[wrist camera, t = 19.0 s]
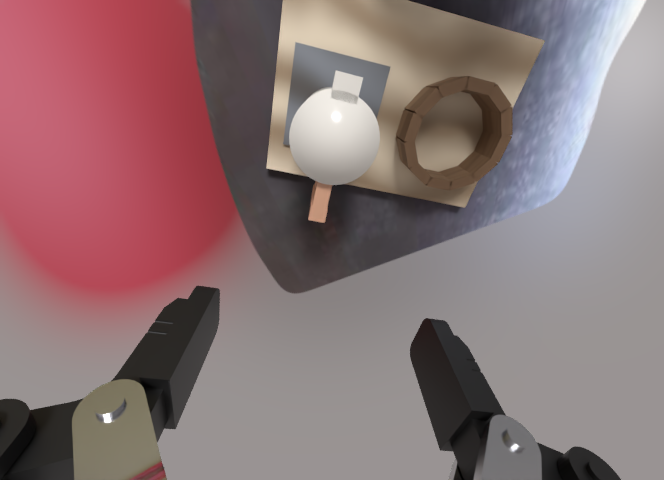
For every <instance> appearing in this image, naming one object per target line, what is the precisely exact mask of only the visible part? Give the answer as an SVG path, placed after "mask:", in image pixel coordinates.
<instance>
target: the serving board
mask: <svg viewBox="0 0 664 480" xmlns="http://www.w3.org/2000/svg"><path fill="white" fill-rule="evenodd" d="M544 42H545V41H544V40H541V39H537V38H534V37H531V36H527V35H524V34H520V33H517V32H514V31H510V30H507V29H503V28H500V27H497V26H493V25H490V24H486V23H483V22H480V21H476V20H473V19H469V18H466V17H463V16H459V15H456V14H453V13H449V12H446V11H442V10H439V9H436V8H432V7H429V6H425V5H422V4H419V3H415V2H412V1H408V0H283V5H282V16H281V26H280V36H279V46H278V56H277V67H276V77H275V87H274V97H273V108H272V118H271V128H270V138H269V149H268V159H267V169H272V170H277V171H282V172H287V173H292V174H297V175H302V176H307V175H306V174H305V173H304V172H303V171H302V170H301V169H300V168H299V167H298V165H297V164H296V162H295V160H294V158H293V156H292V153H291V150H290V144H289V133H290V127H291V123H292V120H293V118H294V116H295V114H296V112H297V111H298V109H299V108H300V107H301V105H302V104H303V103H304V102H305V101H306V100H307V99H308V98H309V97H310V96H311V95H312V94H313V93H314V92H316V91H317V90H319V89H321V88H325V87H332V85H333V80H334V75H335V71H336V70H337V71H340V72H344V73H348V74H352V75H355V76H359V77H363V81H362V85H361V89H360V93H359V98H360V99H362V100H363V101H364V102H365V103H366V104H367V105H368V106H369V107H370V108H371V110H372V111H373V113H374V115H375V117H376V119H377V122H378V126H379V131H380V143H379V149H378V152H377V155H376V158H375V160H374V162H373V163H372V165H371V166H370V168H369V169H368V170H367V171H366V172H365V173H364V174H363V175H362V176H360V177H359V178H357V179H355V180H354V181H352V182H349V183H346V184H348V185H353V186H358V187H363V188H368V189H373V190H378V191H383V192H388V193H393V194H398V195H403V196H408V197H414V198H419V199H424V200H429V201H434V202H439V203H444V204H449V205H454V206H459V207H464V208H465V207H466V205H467V202H468V200H469V198H470V196H471V194H472V192H473V190H474V188H475V186H476V184H477V182H478V181H479V180H480V179H481V178H482V177H483V176H484V175H486V174H487V173H488V172H489V171H490V170H491V169H492V168H494V167H495V166H496V165H497V163H496V162H499V161H500V159H501V157H502V155H503V153H504V151H505V149H506V147H507V145H508V143H509V141H510V139H511V137H512V136H510V135H512V109H513V106H514V104H515V102H516V100H517V98H518V96H519V94H520V92H521V90H522V88H523V86H524V84H525V81H526V79H527V77H528V75H529V73H530V71H531V69H532V67H533V65H534V63H535V61H536V58H537V56H538V54H539V52H540V50H541V48H542V46H543V44H544Z"/></svg>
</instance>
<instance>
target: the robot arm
mask: <svg viewBox="0 0 664 480" xmlns="http://www.w3.org/2000/svg"><path fill="white" fill-rule="evenodd" d="M219 297H220V291H219V289H218V288H210V287H204V286H196V288H195V289H194V290H193V292H192V293H191V295H190V297H189V298H188V299H181V298H177V299H176V300H174V301H173V302H172V303H171V304H169V305H167V306H166V307H164V309H163V310H162V312H161V313H160V314H159V316H158V317H157V319H156V320H155V323H153V324H152V326H151V327H150V329H149V330H148V333H146V334H145V336H144V337H143V339H142V340H141V341H140V343H139V344H138V346H137V347H136V348H135V350H134V351H133V353H132V354H131V355H130V357H129V358H128V360H127V361H126V362H125V364H124V365H123V367H122V368H121V370H120V371H119V372H118V374H117V375H116V376H115V378H114V379H113V380H112V381H111V382H108V383H106V384H103V385H101V386H100V387H98V388H96V389H95V390H93V391H92V392H90V393H89V394H88V395H87V396H86V397H85V398H83V399H80V400H77V401H74V402H70V403H64V404H59V405H54V406H50V407H44V408H39V409H34V410H30V409H29V408H28V406H27V405H26V403H24V402H23V401H20V400H17V399H3V400H0V480H167V478H166V474H165V470H164V467H163V464H162V461H161V456H160V452H159V448H158V444H157V442H158V440H159V438H160V436H161V434H162V431H163V429H164V428H166V429H176V427H177V424H178V422H179V419H180V417H181V415H182V412H183V410H184V408H185V405H186V403H187V401H188V398H189V396H190V394H191V391H192V389H193V387H194V384H195V382H196V380H197V377H198V375H199V372H200V370H201V368H202V365H203V363H204V361H205V358H206V356H207V354H208V351H209V349H210V347H211V344H212V342H213V339H214V337H215V335H216V332H217V328H218V324H219V303H220V302H219V300H220V298H219ZM410 357H411V361H412V364H413V367H414V370H415V373H416V377H417V380H418V383H419V386H420V389H421V392H422V395H423V399H424V402H425V405H426V408H427V411H428V414H429V417H430V420H431V423H432V426H433V430H434V432H435V436H436V439H437V442H438V445H439V448H440V450H443V451H453V452H454V454H455V457H456V460H455V461H454V462H453V465H452V468H451V473H450V476H449V480H621V479H620V478H619V476H618V475H617V474H616V473H615V472H614V470H613V469H612V468H611V467H610V466H609V465H608V464H607V463H606V462H605V461H603V460H602V459H601V458H600V457H598V456H597V455H595V454H594V453H592V452H591V451H589V450H587V449H584V448H582V447H573V448H571V449H570V450H569V451H567V452H566V453H565V454H563V453H560V452H558V451H556V450H553V449H551V448H549V447H546V446H544V445H542V444H539V443H537V442H536V441H535V439H534V438H533V436H532V435H531V434H530V433H529V431H528V430H527V429H526V428H525V427H524V426H523V425H521V424H520V423H519V422H517V421H516V420H514V419H513V418H511V417H508V416H506V415H505V413H504V411H503V410H502V408H501V406H500V404H499V402H498V401H497V399H496V398H495V395H494V393H493V392H492V390H491V388H490V386H489V384H488V383H487V381H486V379H485V377H484V375H483V374H482V373H481V372H480V368H479V366H478V365H477V363H476V362H475V359H474V358H473V355H472V354H471V352H470V350H469V348H468V347H467V346H466V345H465V344H464V343H463V341H462V340H461V339H460V338H459V337H457V336H454V335H453V333H452V331H451V329H450V327H449V325H448V324H447V322H445V321H443V320H435V319H428V318H426V319H424V320H423V322H422V324H421V326H420V328H419V330H418V332H417V334H416V336H415V338H414V340H413V342H412V344H411V348H410Z"/></svg>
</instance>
